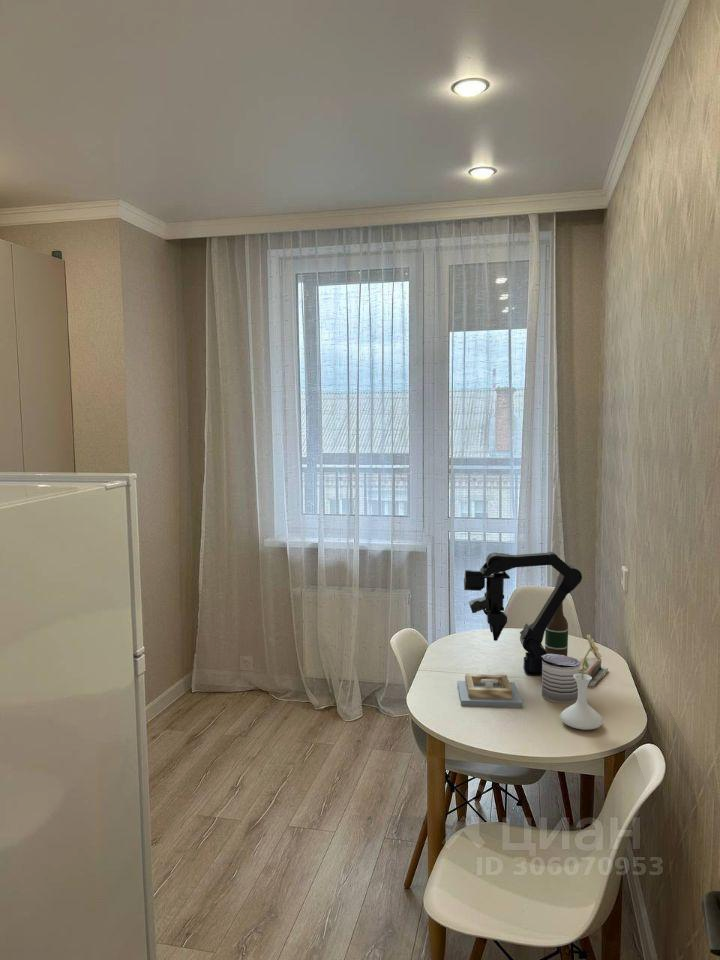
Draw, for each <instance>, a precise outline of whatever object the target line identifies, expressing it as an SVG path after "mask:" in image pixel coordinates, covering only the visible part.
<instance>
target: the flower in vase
mask: <svg viewBox="0 0 720 960" xmlns="http://www.w3.org/2000/svg"><path fill="white" fill-rule="evenodd" d="M586 639H587V642H588V645H589V649H588V650H587V652H586V654H585V655H584V657H583V658H584V661H583V668H582V669H580V670H578V671H582V674H574V675H573V677H574V678H575V680H576V682H577V687H578V699H577V700H576V701H575V702H574V703H573V704H572V705H569V706H568V707H566V708H564V710H563V711H561V713H560V715H559V717H560V720H561V721H562V722H563V724H565V725H566V726H569V727H570V728H574V729H576V730H577V729H578V730H583V731H585V730H586V731H589V730H596V729H599V728H600V727H601V726H602V725H603V724H604V720H603V718H602V716H601V715H600V714H599V713H598V712H597V710H595V709H594V708H593V707H592V706H591V705H589V704H588V701H587V700H588V699H587V690H588V687H589V686H588V684H589V682H590V680H591V679H592V677H591V676H589V675H587V674H583V671H585V670H587V669H588V668H589V665H588V662H587V660H585V659H586V658H588V657H587V656H588V655H589V654H590V652H591V653H592V654H593V656H594V658H596V659H597V660H598V661H601V662H602V661H603V660H602V655H601V654H600V652H599V647H598V646H597V645H596V644H595V640H594V639H593V638H592V636H591V634H587V635H586ZM584 665H585V667H586V668H587V669H586V668H584Z"/></svg>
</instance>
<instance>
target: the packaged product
mask: <svg viewBox="0 0 720 960" xmlns="http://www.w3.org/2000/svg"><path fill="white" fill-rule="evenodd" d="M584 658H585V657H583V658H581V659H580V660H578V661H579V662H580V663H581V664H579V670H580V669H582V668H583V661H584ZM585 660H587V662H588V665H589V668H588V669H587V668H586V667H585V665H584V668H586V669H587V670H585V671H583V674H587V675H589V676H591V677H592V679H591V680H590V682H589V684H588V686H587V687H589V686H594V687H595V686H596V685H597V684H598V683H599V682H600V681H601V680H602V679H603V678H604V677H605V676H604V674H605V673H606V672H607V673H608V670H609V667H607V666H606V667H605V666H602V661H598V660H597V659H596V657H586V659H585ZM607 673H606V674H607ZM579 674H582V671H579ZM606 674H605V675H606ZM603 676H604V677H603ZM602 677H603V678H602ZM601 678H602V679H601ZM600 679H601V680H600ZM599 680H600V681H599ZM598 681H599V682H598ZM597 682H598V683H597ZM596 683H597V684H596ZM595 684H596V685H595Z"/></svg>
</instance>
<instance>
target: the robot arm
mask: <svg viewBox="0 0 720 960" xmlns="http://www.w3.org/2000/svg"><path fill="white" fill-rule="evenodd" d="M541 566H551V567H552V568H554V569H555V570H556V571H557V572H558V573H559V574H558V576H557V579H556V584H555V587H554V589H553V590H552V592H551V594H550V595H549V597H548V598H547V600H546V602H545V603H544V605H543V607H542V608H541V610H540V612H539V613H538V615H537V616H536V618H535V619H534V621H533V622H532V623H531V624H529V623H525V624H524V627H523V628H522V630H521V631H519V634H520V635H519V641H520V644H521V646H522V648H523V649H524V650H525V651H526V652H525V654H524V656H523V666H522V667H523V670H524V672H525V674H526V675H528V676H542V665H543V658H542V657H541V656H542V655H546V654H547V652H546V651H545V646H543V644H542V643H543V641H544V640H543V639H544V637H545V629H546V628H547V626H548V625H549V623H550V621H551V620H552V618H553V616H554V615H555V613H556V612H557V610H558V608H559V607H560V605H561V604H562V602H564V600H565V599H566V597H567V596H568V594H570V593H571V592H572V591H574V590H575V589H576V588H577V587H578V586H579V584H581V582H582V580H583V576H582V572H581V571H580V570H579V569H578V568H577V567H576V566H575V565H573V564H568V563H566V562H565V561H563V560H562V559H561V558H560V557H559V556H558V555H557V554H556V553H555V552H553V551H547V552H538V553H537V552H536V553H524V554H522V553H521V554H509V553H505V552H504V553H503V552H491V553H489V554H488V555H487V556H486V559H485V563H484V564H483V565H482V566H481V568H480V570H471V569H466V570H465V571H464V578H463V591H475V592H476V591H477V592H479V591H480V592H482V590H483V589H485V588H486V589H485V592H484V596H482V597H477V598H474V599H472V600H469V601H468V604H469V608H470V610H471V613H472V614H476V613H477V612H481V611H483V613H484V615H486V622H487V623H488V625H489V629H490V630H489V631H490V633H492V637H493V641H494V642H497V641H498V640H499V639H500V636H501V634H502V632H503V630H504V628H505V627H506V625H507V623H508V616H507V614H506V613H505V612H504V611H505V607H504V600H505V594H504V584H505V579H506V580H508V579H511V577H510V575H509V574H508V573H507V572H506V571H510V570H513V569H515V568H516V569H517V568H525V567H526V568H528V567H541Z"/></svg>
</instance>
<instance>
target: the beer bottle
mask: <svg viewBox="0 0 720 960" xmlns="http://www.w3.org/2000/svg"><path fill="white" fill-rule="evenodd" d="M563 602H564V601H563ZM563 602H562V604H561V605H560V607H559V608H558V610H557V612H556V613H555V615H554V616H553V618H552V620H551V621H550V623H549V625H548V626H547V628H546V629H545V632H544V637H545V638H544V649H545V651H546V652H547V654H558V655H565V656H568V647H569V645H568V644H569V643H568V642H569V623H568V620H567V618H566V617H565V615H564V608H563V607H564V606H563Z"/></svg>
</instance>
